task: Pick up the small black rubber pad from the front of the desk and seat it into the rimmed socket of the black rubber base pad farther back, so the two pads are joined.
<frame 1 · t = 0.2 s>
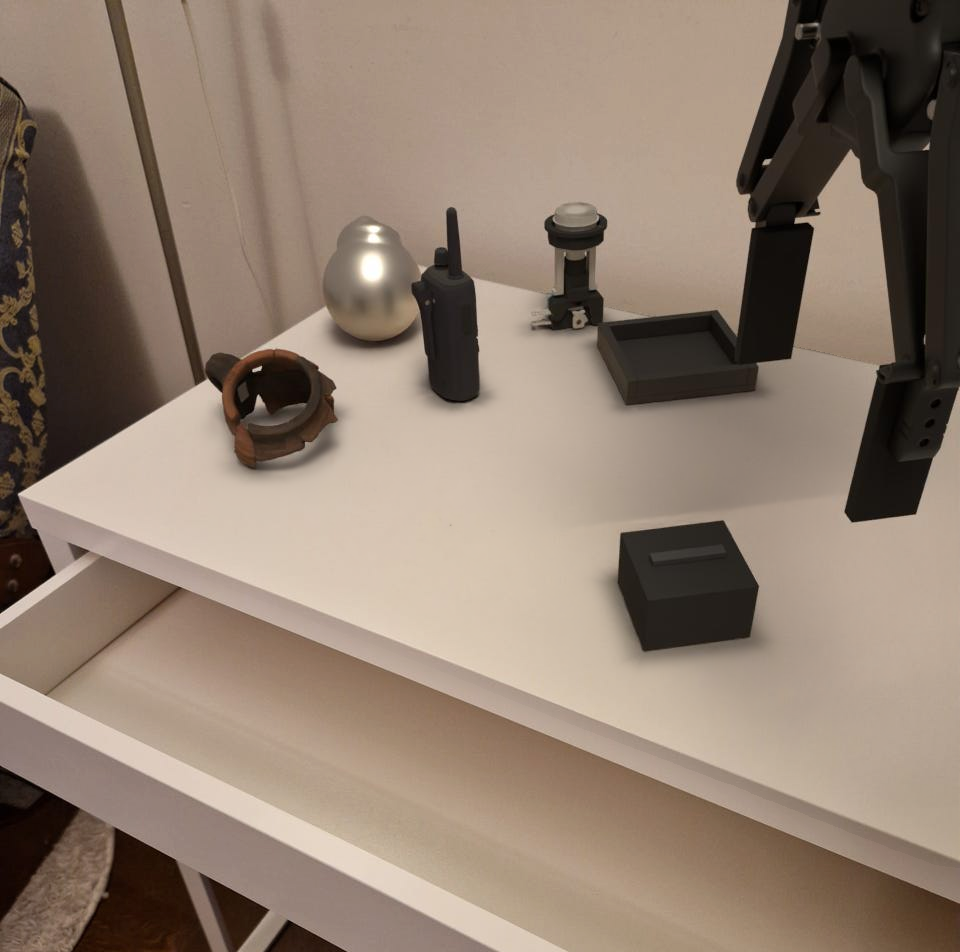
hand: (814, 428, 46), 16 cm above the table, tool pointing down, fingers open, 13 cm apart
pottery mug: (278, 438, 79), on the table
push button: (567, 325, 91), on the table
two-way radio: (448, 394, 83), on the table
top pad: (681, 609, 62), on the table
base pad: (672, 366, 84), on the table
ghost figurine: (379, 336, 91), on the table
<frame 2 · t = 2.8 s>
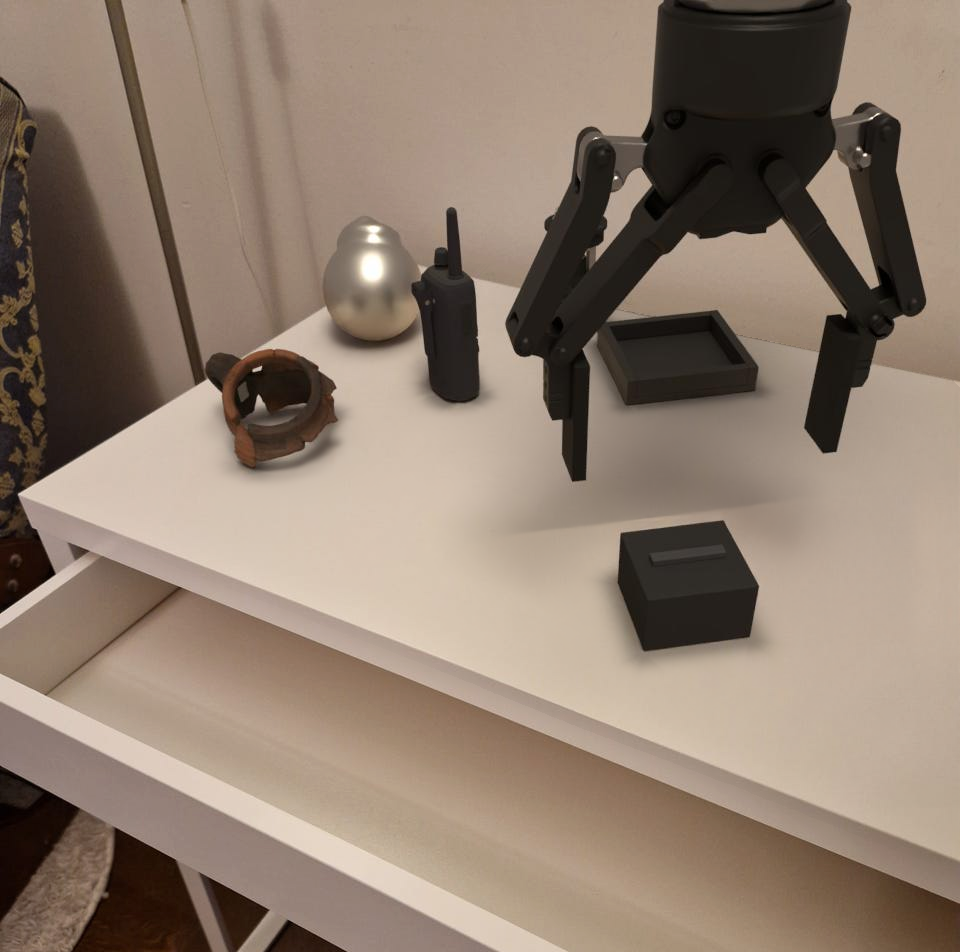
hand: (697, 454, 54), 11 cm above the table, tool pointing down, fingers open, 13 cm apart
nothing on the table moved.
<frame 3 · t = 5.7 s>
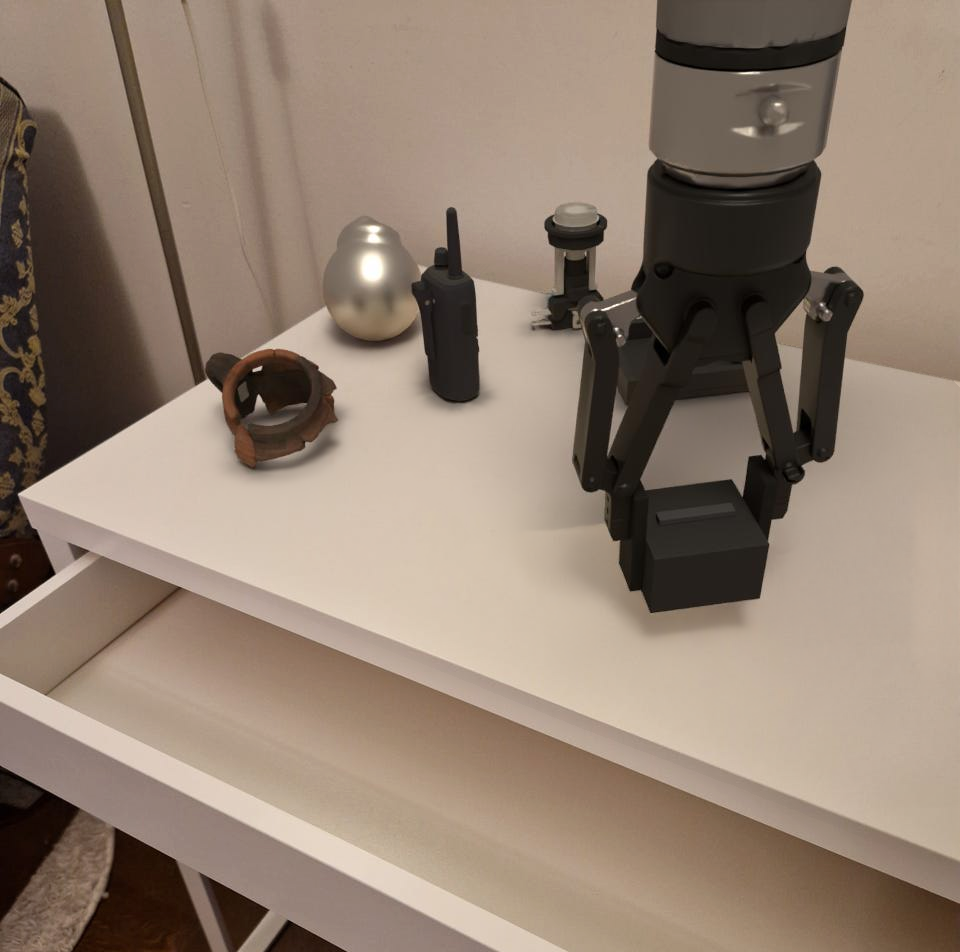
hand: (689, 568, 60), 3 cm above the table, tool pointing down, fingers closed on top pad, 6 cm apart
top pad: (689, 571, 60), point 3 cm above the table, touching gripper
everything else where it was.
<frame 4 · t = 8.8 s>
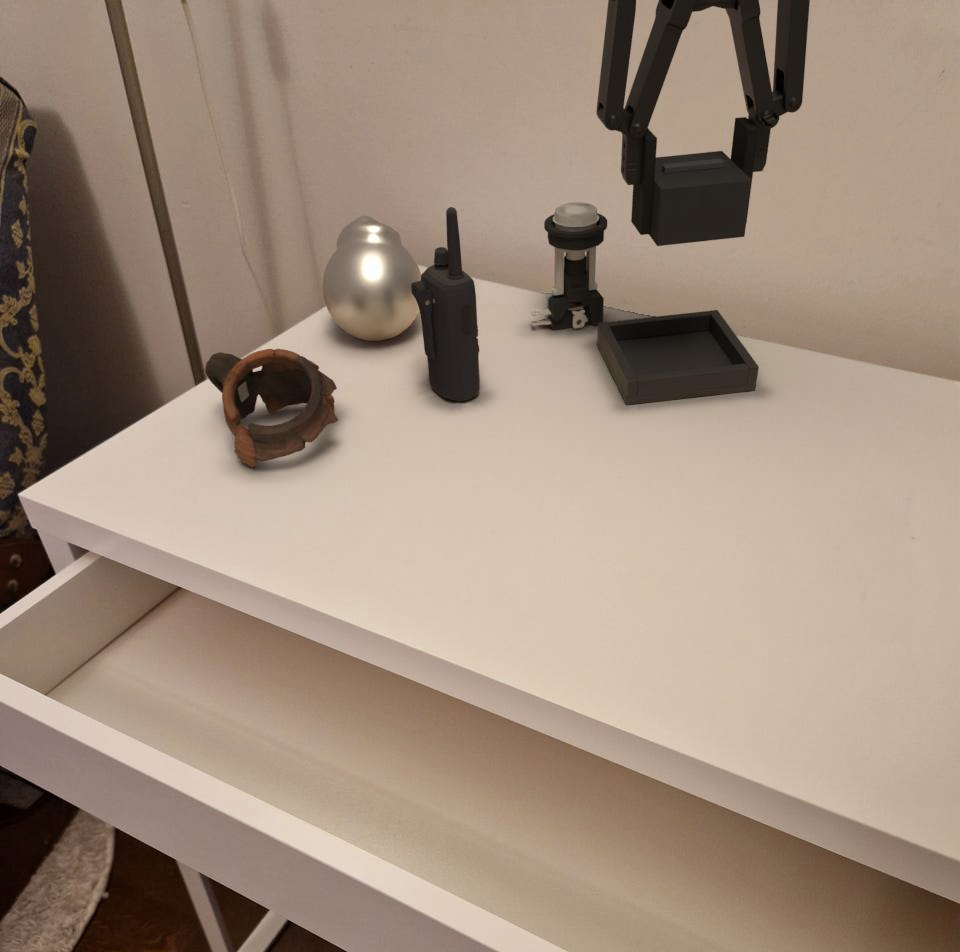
hand: (688, 222, 74), 13 cm above the table, tool pointing down, fingers closed on top pad, 6 cm apart
top pad: (687, 225, 74), point 12 cm above the table, touching gripper
everything else where it was.
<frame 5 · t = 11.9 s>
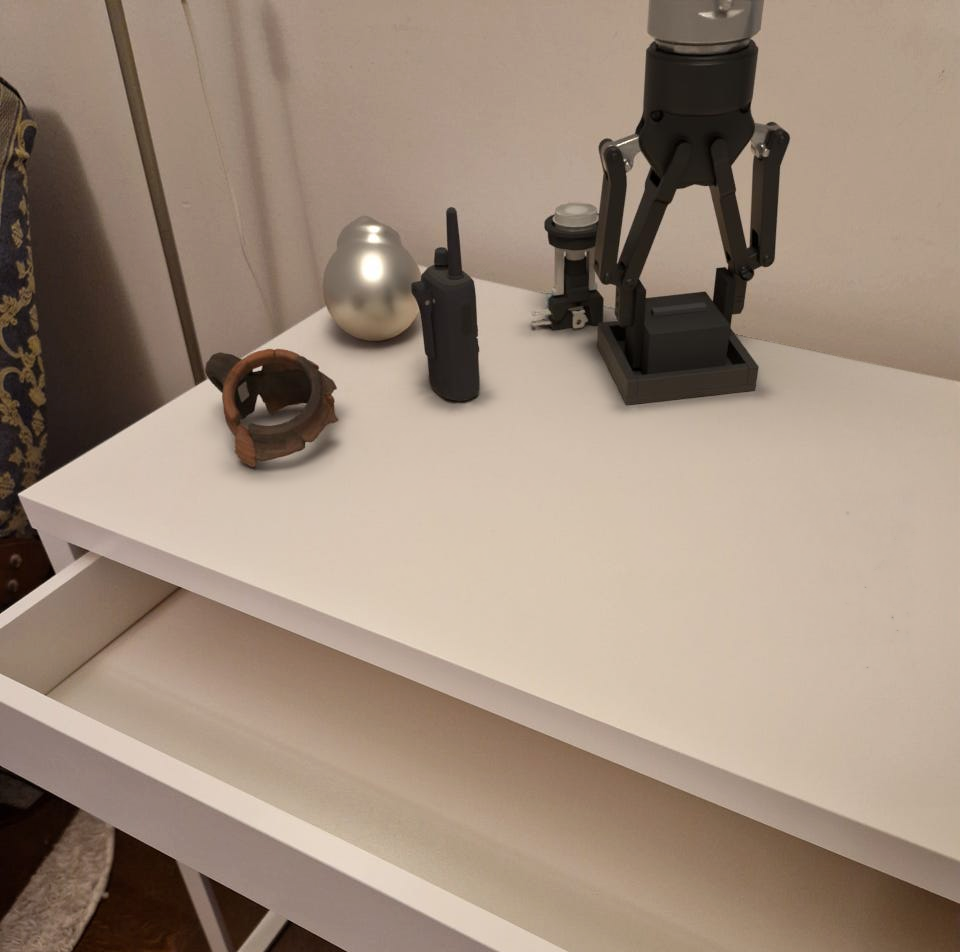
hand: (675, 354, 83), 1 cm above the table, tool pointing down, fingers closed on top pad, 6 cm apart
top pad: (674, 357, 84), point 1 cm above the table, touching gripper
everything else where it was.
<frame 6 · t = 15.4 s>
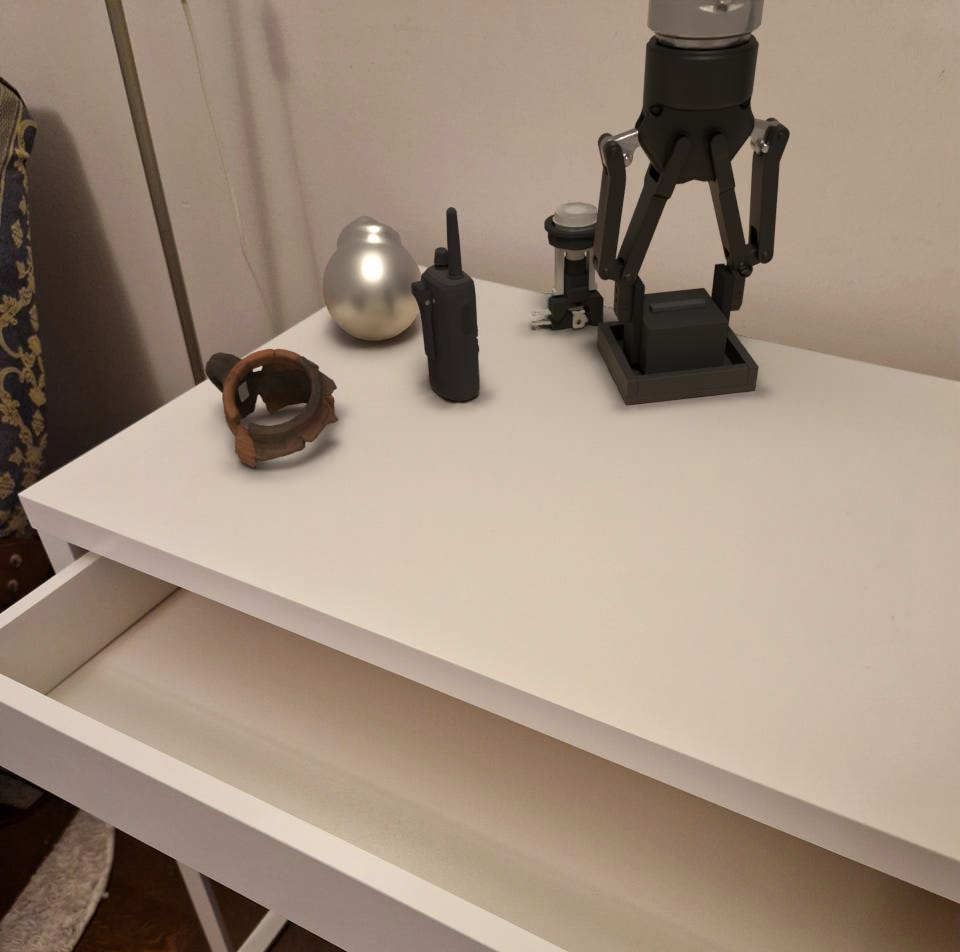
hand: (673, 351, 83), 1 cm above the table, tool pointing down, fingers closed on top pad, 6 cm apart
top pad: (673, 353, 83), point 1 cm above the table, touching gripper
everything else where it was.
when the fingers open (2 cm above the table, at t = 18.9 s): top pad drops 1 cm, resting on base pad.
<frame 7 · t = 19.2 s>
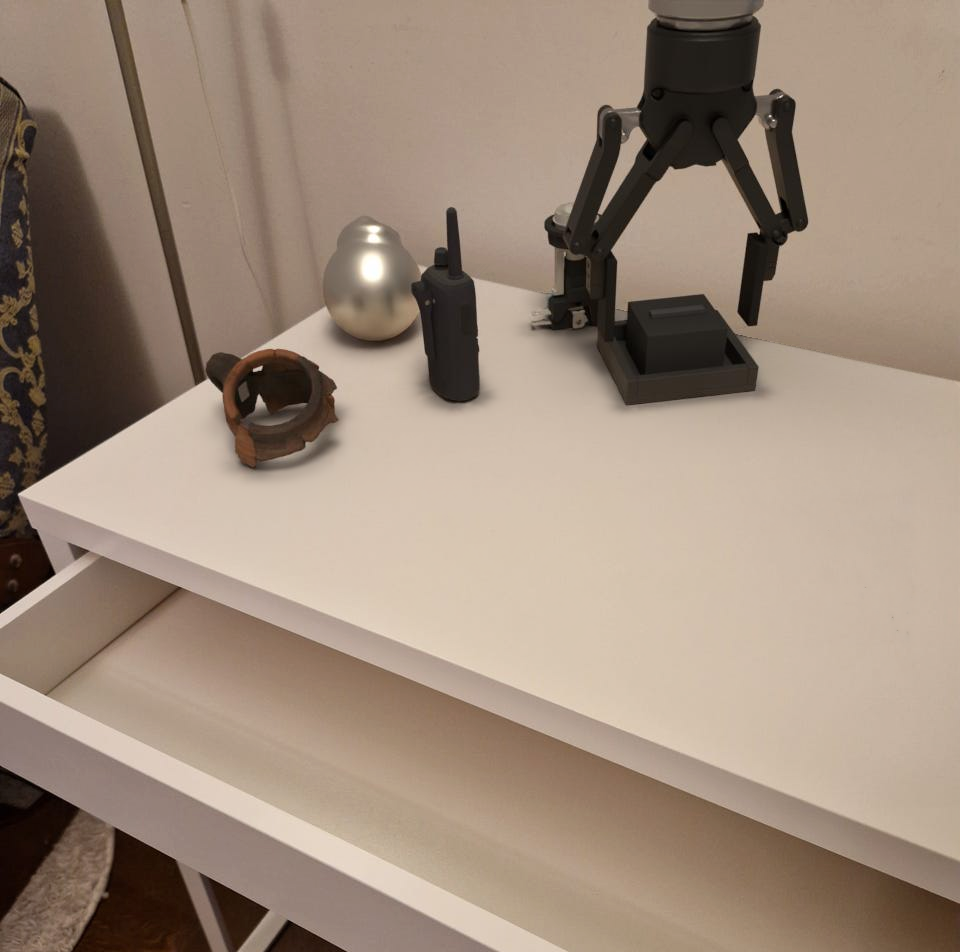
hand: (676, 326, 82), 4 cm above the table, tool pointing down, fingers open, 11 cm apart
top pad: (672, 359, 84), point 1 cm above the table, touching base pad
everything else where it was.
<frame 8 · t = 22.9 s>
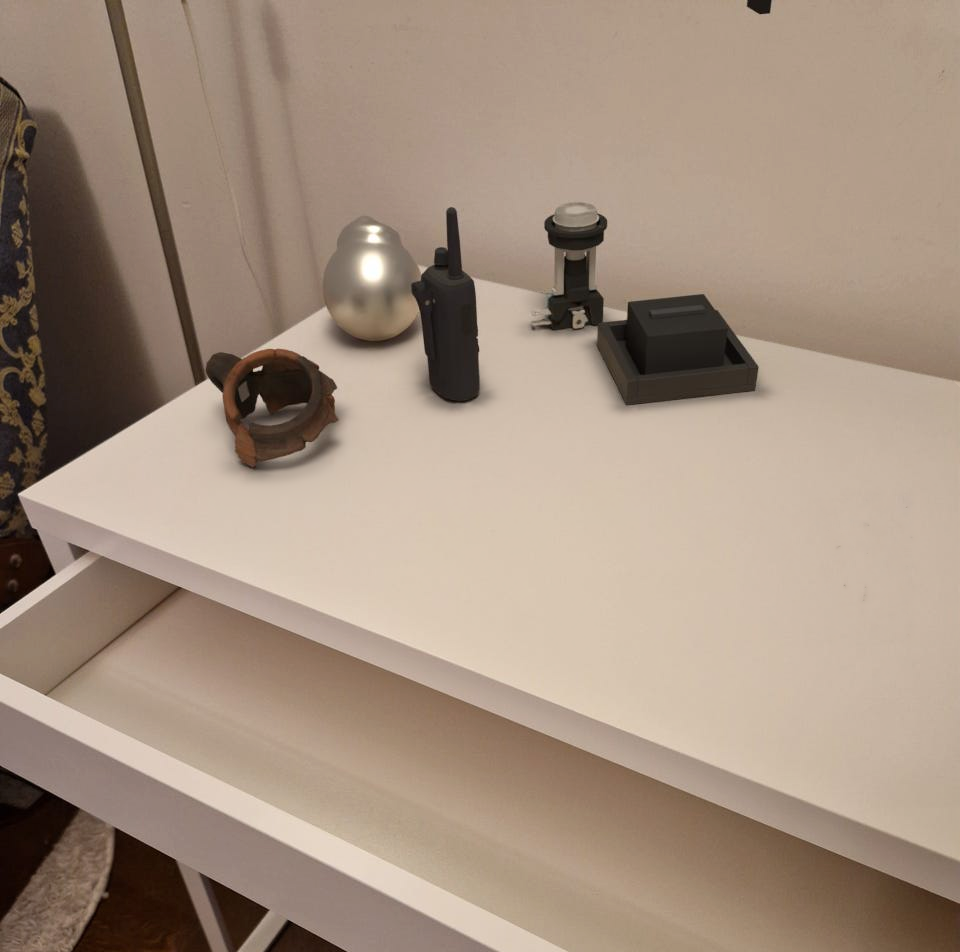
hand: (851, 2, 71), 25 cm above the table, tool pointing down, fingers open, 13 cm apart
nothing on the table moved.
at the end: top pad 0.1 cm off-centre in the base pad, point 0.6 cm above the base pad's base; top pad tilted 0°; the gripper is holding nothing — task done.
